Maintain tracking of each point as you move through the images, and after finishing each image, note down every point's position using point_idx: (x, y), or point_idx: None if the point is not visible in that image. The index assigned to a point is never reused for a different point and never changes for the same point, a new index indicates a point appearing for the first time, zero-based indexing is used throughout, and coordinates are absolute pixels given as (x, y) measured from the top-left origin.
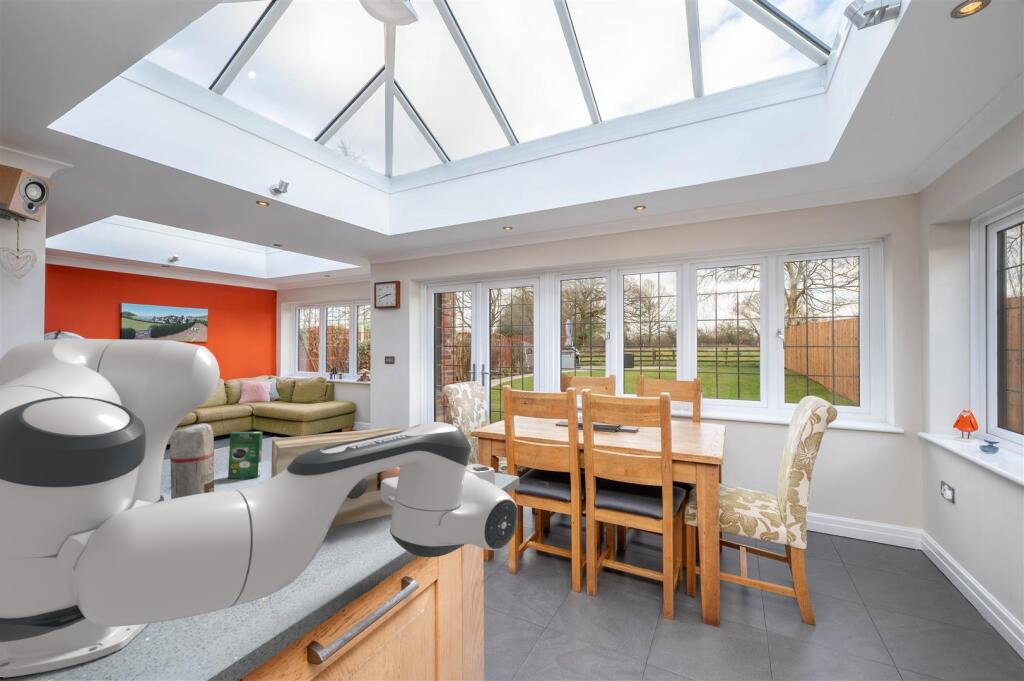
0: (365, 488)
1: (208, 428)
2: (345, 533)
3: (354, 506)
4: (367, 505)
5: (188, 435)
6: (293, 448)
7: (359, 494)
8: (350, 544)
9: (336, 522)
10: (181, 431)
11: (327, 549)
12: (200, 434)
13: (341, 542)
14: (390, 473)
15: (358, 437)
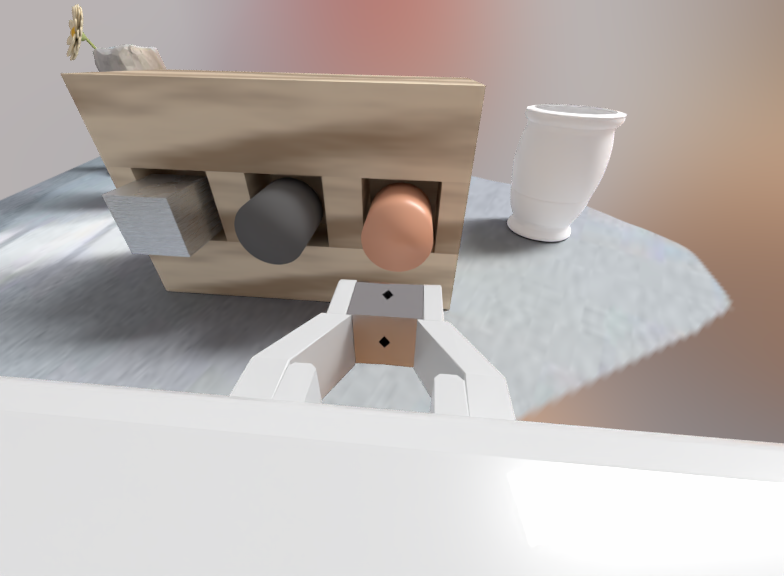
0: (301, 245)
1: (132, 50)
2: (265, 333)
3: (311, 271)
4: (342, 276)
5: (103, 60)
6: (101, 82)
7: (287, 257)
8: (227, 387)
9: (277, 292)
10: (94, 51)
11: (173, 380)
12: (118, 60)
13: (223, 366)
14: (376, 218)
15: (309, 78)
